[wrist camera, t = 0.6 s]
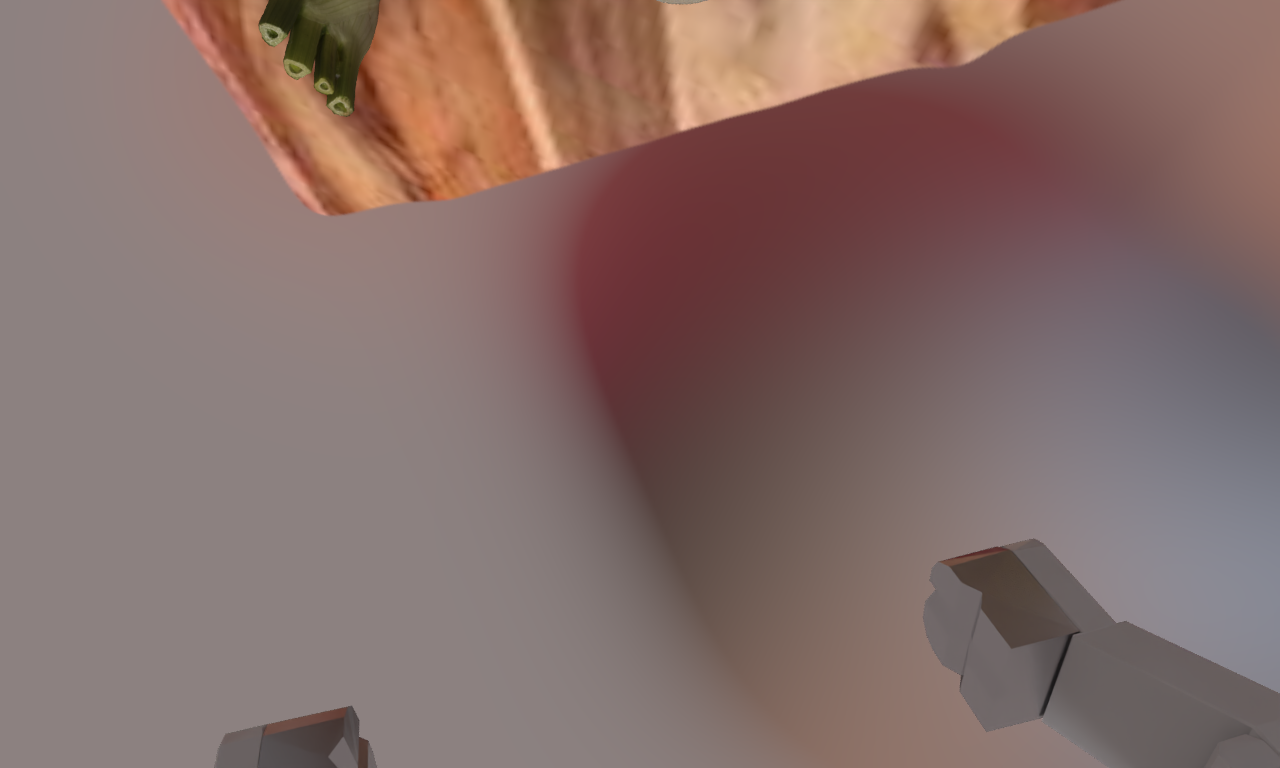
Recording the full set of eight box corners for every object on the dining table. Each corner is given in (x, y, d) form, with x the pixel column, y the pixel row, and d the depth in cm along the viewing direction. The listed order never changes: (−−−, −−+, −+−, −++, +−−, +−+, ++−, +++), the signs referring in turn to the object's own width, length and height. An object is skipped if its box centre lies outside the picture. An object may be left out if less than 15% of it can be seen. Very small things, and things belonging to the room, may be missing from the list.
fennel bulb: (279, -83, 46) (239, 26, 39) (368, -89, 47) (346, 18, 39) (312, 18, 51) (283, 133, 43) (394, 12, 51) (378, 125, 44)
